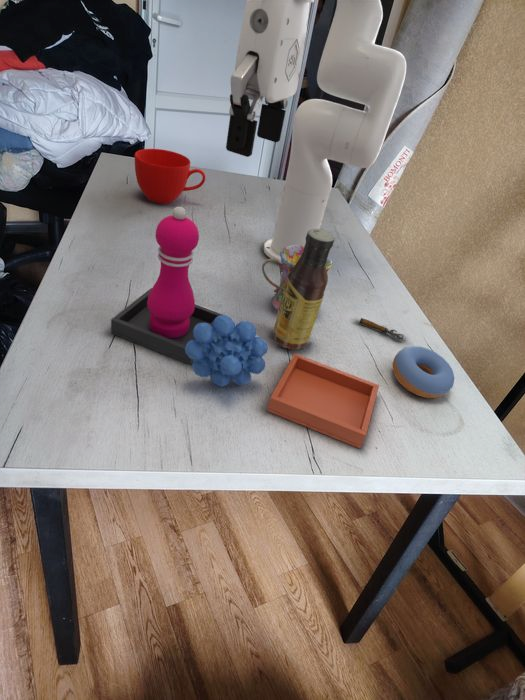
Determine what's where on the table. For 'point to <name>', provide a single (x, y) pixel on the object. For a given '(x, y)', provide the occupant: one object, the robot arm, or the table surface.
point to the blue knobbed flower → (226, 351)
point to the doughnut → (423, 372)
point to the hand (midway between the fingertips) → (254, 145)
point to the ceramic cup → (163, 174)
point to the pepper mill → (173, 276)
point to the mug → (287, 269)
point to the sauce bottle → (303, 292)
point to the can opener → (381, 329)
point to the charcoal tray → (137, 330)
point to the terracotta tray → (324, 400)
